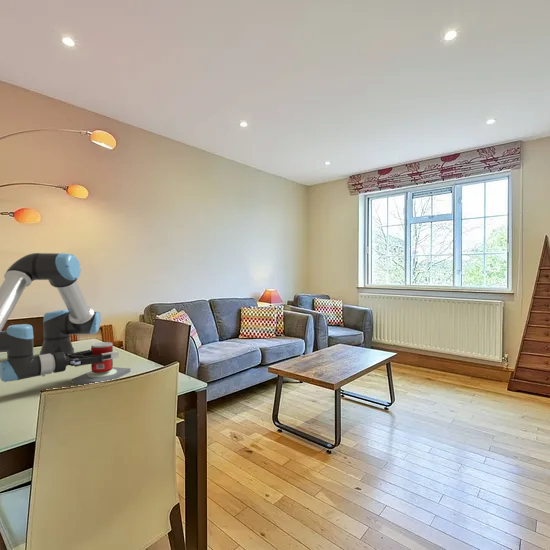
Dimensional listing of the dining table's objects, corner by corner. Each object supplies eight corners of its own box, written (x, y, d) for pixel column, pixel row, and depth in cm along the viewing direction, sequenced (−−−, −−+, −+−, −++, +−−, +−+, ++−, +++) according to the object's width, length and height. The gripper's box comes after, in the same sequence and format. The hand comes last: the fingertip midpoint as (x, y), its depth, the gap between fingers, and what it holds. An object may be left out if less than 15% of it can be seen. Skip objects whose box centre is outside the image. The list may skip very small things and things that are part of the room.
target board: (102, 369, 152) (102, 365, 152) (130, 371, 149) (130, 367, 149) (71, 383, 134) (71, 378, 134) (102, 385, 132) (102, 380, 132)
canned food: (116, 369, 143) (116, 343, 143) (98, 374, 136) (98, 347, 136) (105, 366, 147) (105, 341, 147) (87, 371, 140) (87, 344, 140)
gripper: (45, 367, 136) (105, 356, 152) (60, 379, 122) (124, 366, 138) (45, 348, 136) (104, 340, 152) (60, 358, 122) (124, 347, 138)
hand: (114, 352), depth 145 cm, fingers closed on canned food, 8 cm apart
